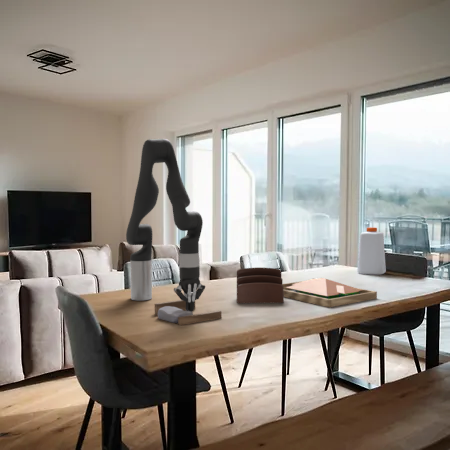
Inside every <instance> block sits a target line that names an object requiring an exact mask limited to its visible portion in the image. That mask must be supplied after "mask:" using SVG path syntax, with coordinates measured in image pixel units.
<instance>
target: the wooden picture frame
mask: <svg viewBox="0 0 450 450" xmlns="http://www.w3.org/2000/svg"><path fill="white" fill-rule="evenodd" d="M302 281H303V280H302ZM302 281H295V282H287V283H282V284H283V287H284V298H287V299H292V300H295V301H300V302H304V303H309V304H314V305H318V306H321V307H325V308H326V307H327V308H332V307H333V308H334V307H338V306H340V307H341V306H343V305H349V304H355V303H359V302H360V303H361V302H366V301H370V300H376V299H378V291H377V290H376V291H375V290H368V289H364V288H357V287H356V288H357V289H360V290H362V291H360V294H358V292H357V294H356V293H355V295H351V294H349V295H347V296H344V295H343V297H341V296H340V297H339V298H337V297H336V298H335V297H333V299H330V298H329V299H328V298H327V297H324V298H323V297H322V296H321V297H320V296H319V297H318V295H317V296H315V295H314V296H312V294H311V295H310V294H306V293H303V294H302V293H301V292H299V291H298V292H296V291H294V290H291V289H289V288H286V287H289V286H293V285H292V284H295V283H299V282H302Z"/></svg>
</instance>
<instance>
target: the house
mask: <svg viewBox="0 0 450 450" xmlns="http://www.w3.org/2000/svg"><path fill="white" fill-rule="evenodd" d="M298 282H299V283H295V284H292V285H293V286H289V287H286V288H289V289H290V290H293V291H294V292H298V293H299V292H300V293H302V294H304V293H305V294H307V295H312V296H317V297H321V298H325V297H327V299H333V298H339V297H344V296H350V295H355V293H356V294H357V292H358V294H360V291H362V290H360V289H361V288H359V289H357V287H354V286H351V285H347V284H343V283H341V282H337V281H334V280H331V279H327V278H324V277H319V278H311V279H306V280H302V282H300V281H298Z"/></svg>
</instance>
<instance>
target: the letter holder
mask: <svg viewBox="0 0 450 450" xmlns="http://www.w3.org/2000/svg"><path fill="white" fill-rule="evenodd" d="M283 284H284V283H283V278H282V270H281V269H278V268H272V267H248V268H247V267H245V268H239V269H237V270H236V304H284V303H285V301H284V300H285V299H284V298H285V297H284V287H283Z"/></svg>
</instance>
